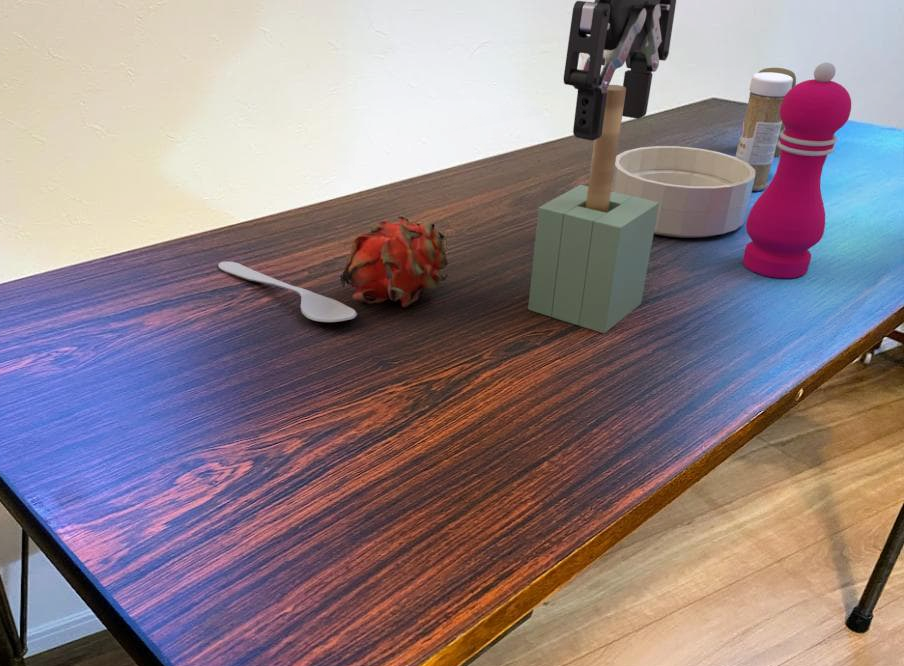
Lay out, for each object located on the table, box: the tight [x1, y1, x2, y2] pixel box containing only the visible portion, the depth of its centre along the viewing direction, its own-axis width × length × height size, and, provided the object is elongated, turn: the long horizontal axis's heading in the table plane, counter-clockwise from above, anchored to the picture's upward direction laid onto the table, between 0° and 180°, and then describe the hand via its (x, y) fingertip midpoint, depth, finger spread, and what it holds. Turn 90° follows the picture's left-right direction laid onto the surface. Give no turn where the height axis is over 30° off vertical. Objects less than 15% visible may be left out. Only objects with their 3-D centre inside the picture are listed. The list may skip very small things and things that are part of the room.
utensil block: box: [527, 184, 659, 334], centre depth 82 cm, size 8×8×10 cm
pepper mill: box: [742, 62, 852, 279], centre depth 88 cm, size 7×7×20 cm
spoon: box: [217, 261, 358, 323], centre depth 87 cm, size 4×21×2 cm, turn 42°
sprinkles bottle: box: [735, 72, 793, 192], centre depth 111 cm, size 5×5×13 cm
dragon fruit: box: [339, 214, 449, 308], centre depth 85 cm, size 8×8×12 cm
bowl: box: [611, 145, 755, 239], centre depth 104 cm, size 15×15×6 cm
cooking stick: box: [585, 84, 626, 213], centre depth 80 cm, size 2×2×20 cm
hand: (610, 126), depth 76 cm, fingers open, 8 cm apart
